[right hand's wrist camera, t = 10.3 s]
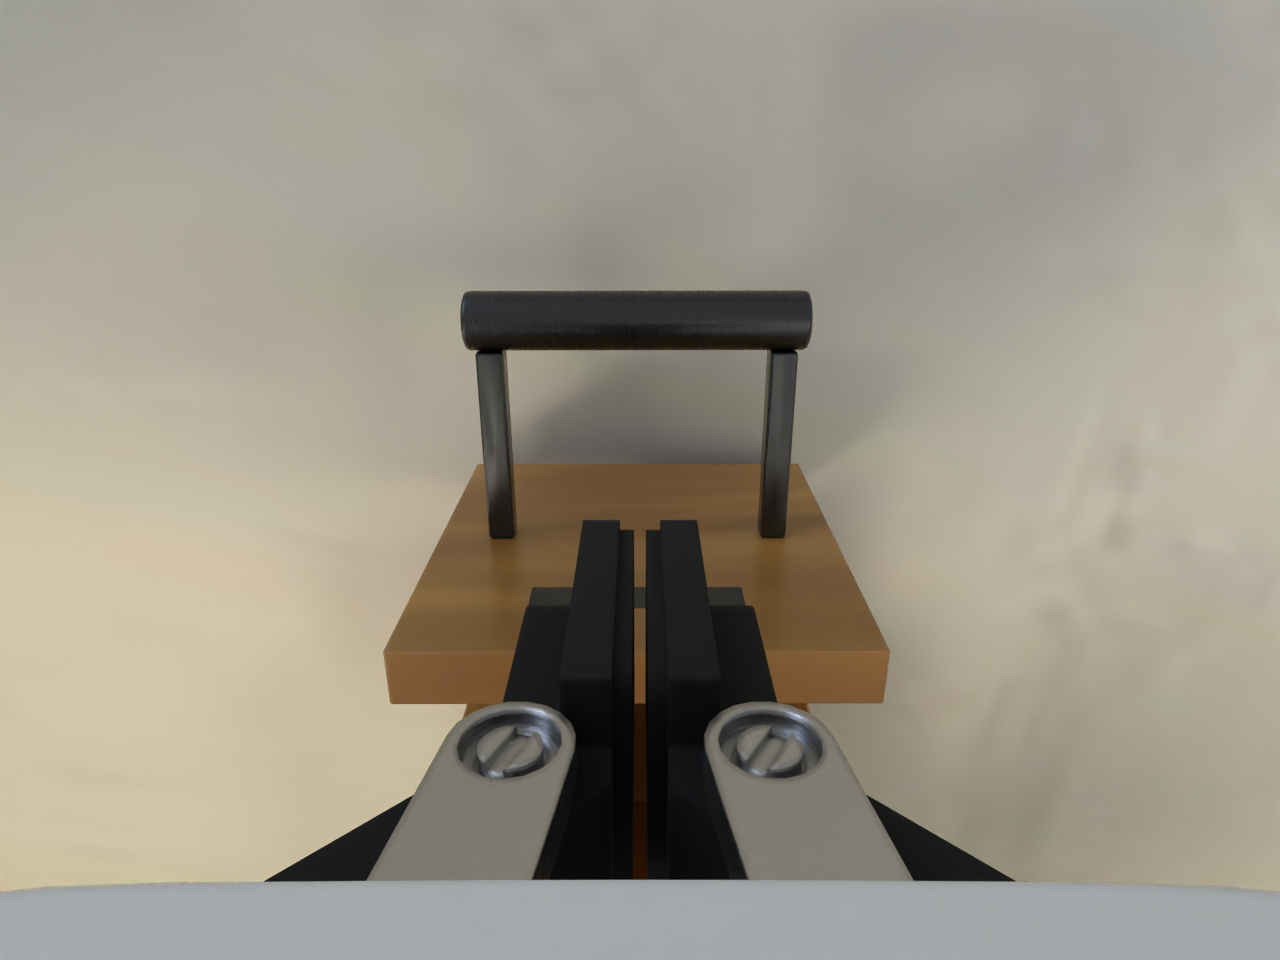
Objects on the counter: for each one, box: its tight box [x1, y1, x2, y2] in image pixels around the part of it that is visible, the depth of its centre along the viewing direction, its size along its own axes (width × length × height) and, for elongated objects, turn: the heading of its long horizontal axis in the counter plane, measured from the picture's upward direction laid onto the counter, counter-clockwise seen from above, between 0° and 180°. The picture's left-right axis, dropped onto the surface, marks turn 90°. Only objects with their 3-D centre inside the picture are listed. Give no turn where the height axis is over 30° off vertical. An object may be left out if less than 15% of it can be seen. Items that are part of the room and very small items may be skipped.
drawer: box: [383, 291, 890, 880], centre depth 21 cm, size 18×9×10 cm, turn 0°
